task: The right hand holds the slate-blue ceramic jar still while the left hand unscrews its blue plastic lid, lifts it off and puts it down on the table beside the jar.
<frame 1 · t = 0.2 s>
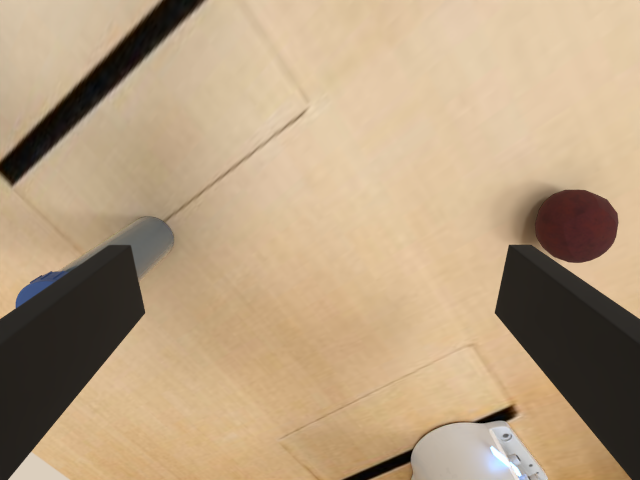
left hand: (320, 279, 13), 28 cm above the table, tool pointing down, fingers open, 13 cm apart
dark maroon ball: (553, 214, 41), on the table
lid: (58, 312, 27), point 16 cm above the table, screwed on, not yet turned
jar: (152, 237, 42), on the table
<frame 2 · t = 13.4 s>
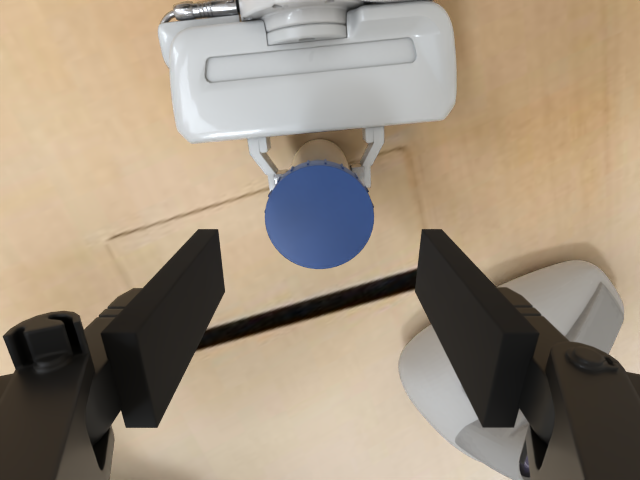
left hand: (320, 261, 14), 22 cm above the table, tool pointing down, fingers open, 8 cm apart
right hand: (321, 190, 29), fingers closed on jar, 5 cm apart
projector: (498, 330, 41), on the table
lid: (319, 218, 19), point 16 cm above the table, screwed on, not yet turned
jar: (319, 166, 34), on the table, touching right hand
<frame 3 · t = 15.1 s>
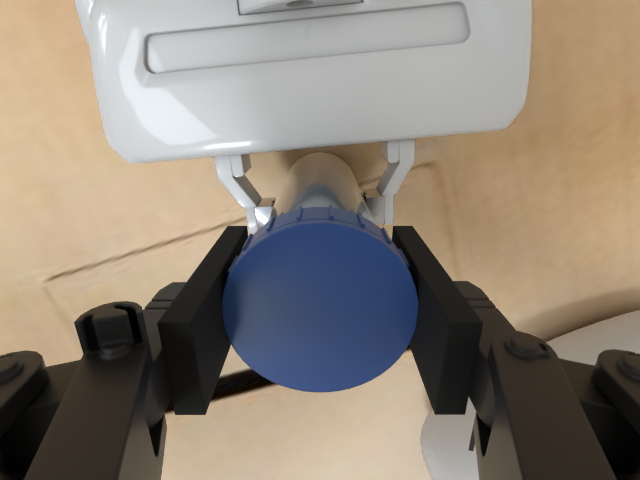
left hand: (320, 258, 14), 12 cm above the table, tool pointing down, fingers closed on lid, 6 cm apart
right hand: (322, 227, 21), fingers closed on jar, 5 cm apart
projector: (544, 389, 33), on the table
lid: (320, 310, 11), point 16 cm above the table, screwed on, not yet turned, touching left hand
jar: (320, 188, 26), on the table, touching right hand
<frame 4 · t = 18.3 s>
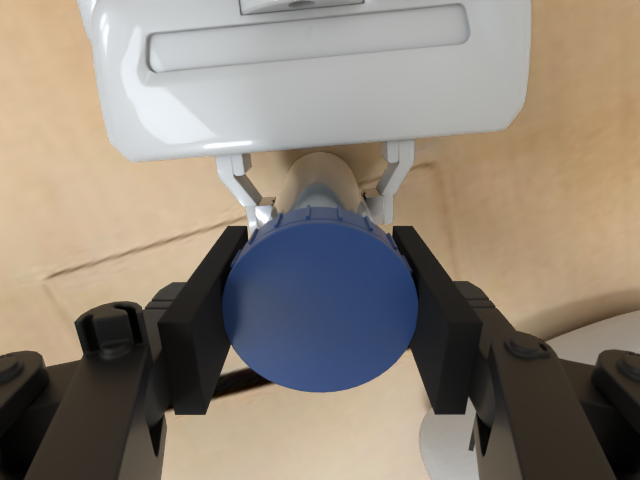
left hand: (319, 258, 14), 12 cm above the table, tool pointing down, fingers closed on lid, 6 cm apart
right hand: (322, 226, 21), fingers closed on jar, 5 cm apart
projector: (542, 389, 33), on the table
lid: (320, 310, 11), point 16 cm above the table, turned 103° so far, risen 0.1 cm, still on its thread, touching left hand
jar: (320, 187, 26), on the table, touching right hand
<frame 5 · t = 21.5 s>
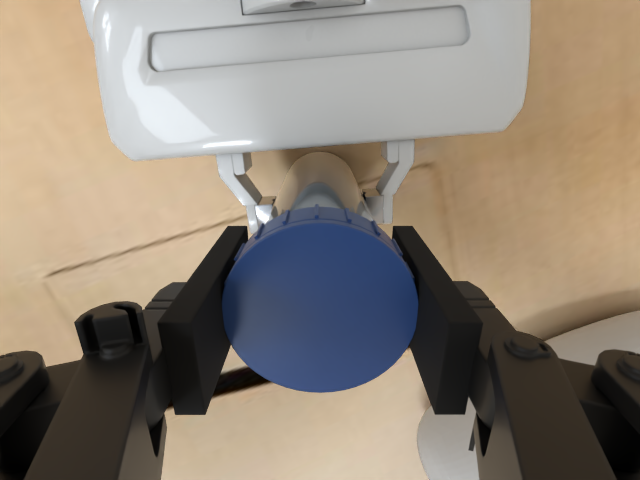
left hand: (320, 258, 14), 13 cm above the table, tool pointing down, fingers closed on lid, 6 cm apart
right hand: (321, 226, 21), fingers closed on jar, 5 cm apart
projector: (539, 389, 33), on the table
lid: (320, 310, 11), point 16 cm above the table, turned 207° so far, risen 0.2 cm, still on its thread, touching left hand
jar: (320, 187, 26), on the table, touching right hand
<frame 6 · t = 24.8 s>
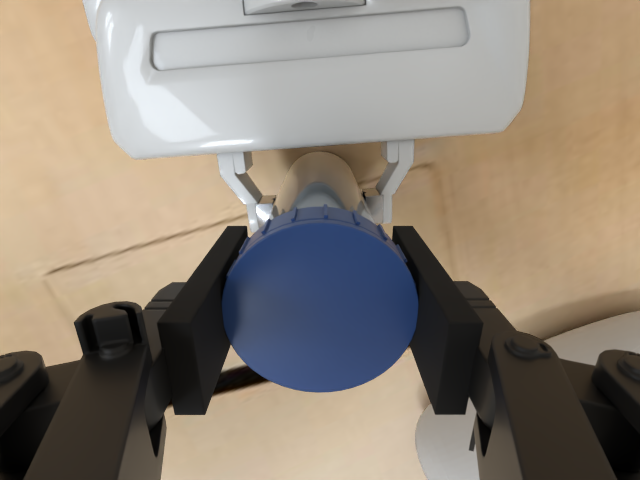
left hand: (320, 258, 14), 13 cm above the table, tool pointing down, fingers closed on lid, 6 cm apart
right hand: (321, 225, 21), fingers closed on jar, 5 cm apart
projector: (537, 389, 33), on the table
lid: (320, 310, 11), point 16 cm above the table, turned 310° so far, risen 0.4 cm, still on its thread, touching left hand
jar: (319, 186, 26), on the table, touching right hand
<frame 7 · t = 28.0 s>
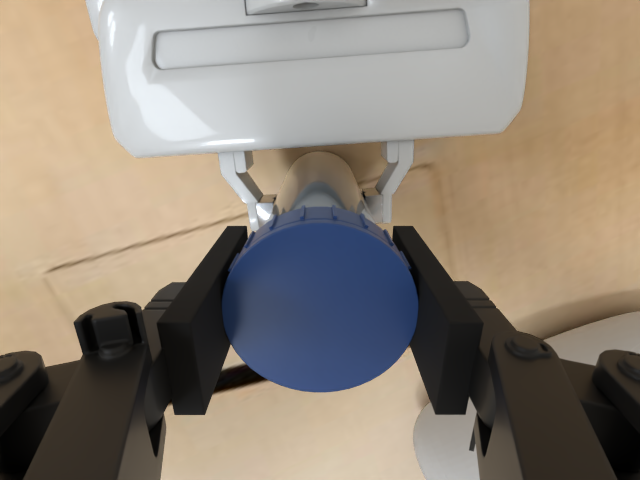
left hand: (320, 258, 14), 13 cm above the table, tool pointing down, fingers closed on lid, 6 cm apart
right hand: (321, 224, 21), fingers closed on jar, 5 cm apart
projector: (535, 389, 33), on the table
lid: (320, 310, 11), point 17 cm above the table, turned 413° so far, risen 0.5 cm, still on its thread, touching left hand
jar: (319, 186, 26), on the table, touching right hand
when the left hand's fingers open (0 cm above the table, at t = 35.4 s): lid drops 3 cm, point 1 cm above the table.
when the right hand's fingers open (6 cm above the table, at t = 36.0 s): jar stays where it is, on the table.
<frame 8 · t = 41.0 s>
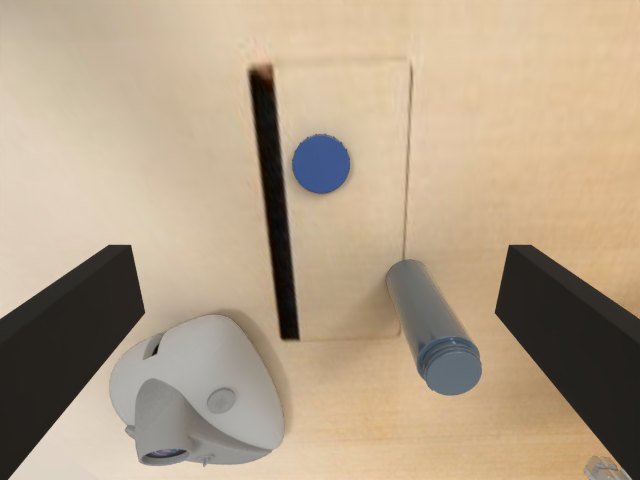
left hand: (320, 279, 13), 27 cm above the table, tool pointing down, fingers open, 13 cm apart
projector: (224, 378, 48), on the table
lid: (321, 164, 36), point 1 cm above the table, off its thread
jar: (407, 279, 43), on the table
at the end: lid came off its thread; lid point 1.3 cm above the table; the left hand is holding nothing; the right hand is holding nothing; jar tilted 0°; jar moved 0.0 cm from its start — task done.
